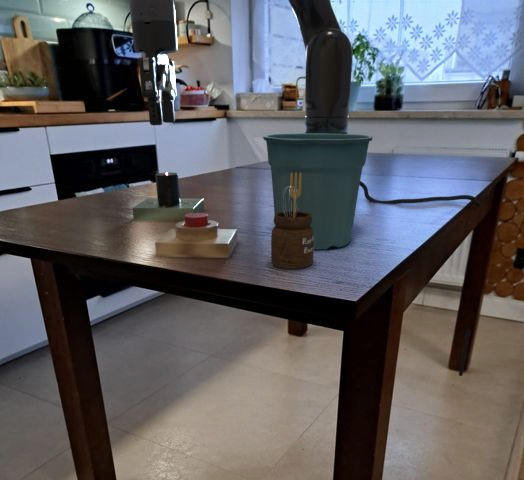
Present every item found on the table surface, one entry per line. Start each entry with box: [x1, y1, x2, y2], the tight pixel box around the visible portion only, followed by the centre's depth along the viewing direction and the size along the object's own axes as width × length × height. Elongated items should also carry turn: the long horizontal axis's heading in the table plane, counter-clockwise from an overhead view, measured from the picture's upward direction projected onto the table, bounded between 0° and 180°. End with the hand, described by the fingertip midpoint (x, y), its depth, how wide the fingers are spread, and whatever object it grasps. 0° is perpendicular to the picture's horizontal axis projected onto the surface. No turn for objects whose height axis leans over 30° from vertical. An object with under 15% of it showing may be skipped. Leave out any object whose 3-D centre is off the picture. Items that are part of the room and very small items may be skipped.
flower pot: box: [262, 132, 374, 250], centre depth 81 cm, size 16×16×16 cm
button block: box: [154, 219, 238, 259], centre depth 80 cm, size 11×9×4 cm
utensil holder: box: [270, 173, 315, 271], centre depth 71 cm, size 6×6×12 cm
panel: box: [131, 197, 205, 222], centre depth 104 cm, size 12×10×3 cm
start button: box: [184, 212, 209, 227], centre depth 79 cm, size 4×4×2 cm
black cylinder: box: [154, 171, 181, 205], centre depth 102 cm, size 4×4×6 cm
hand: (163, 123), depth 95 cm, fingers open, 8 cm apart
